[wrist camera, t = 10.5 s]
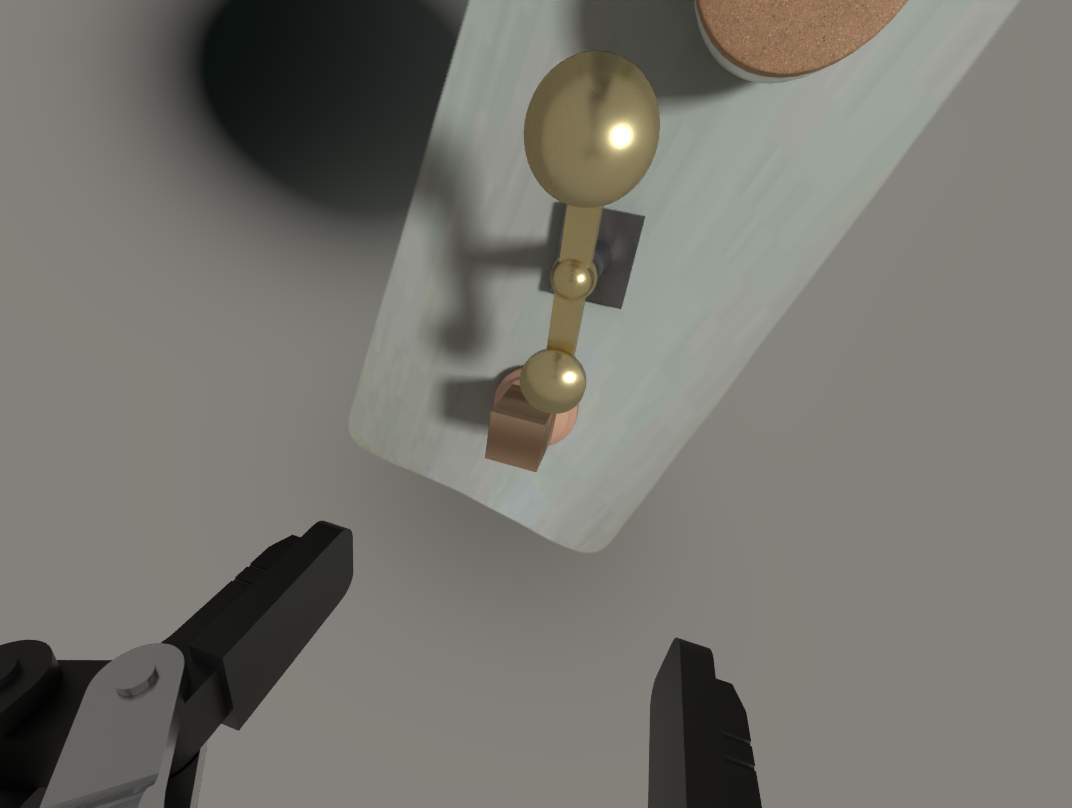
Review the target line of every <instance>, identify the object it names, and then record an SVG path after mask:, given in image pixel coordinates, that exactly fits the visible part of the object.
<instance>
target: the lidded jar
mask: <svg viewBox="0 0 1072 808" xmlns="http://www.w3.org/2000/svg"><path fill="white" fill-rule="evenodd" d="M907 1H908V0H694V7H695V12H696V17H697V22H698V27H699V29H700V32H701V35H702V38H703V41H704V42H705V44H706V46H707V48H708V50H709V51H710V53H711V54H712V56H713V57H714V58H715V59H716V60H717V62H718V63H719V64H720V65H721V66H723V67H724V68H725V69H726V70H728V71H729V72H730V73H732V74H734V75H736V76H738V77H740V78H742V79H745V80H748V81H752V82H756V83H767V84H772V83H783V82H788V81H792V80H796V79H800V78H804V77H806V76H808V75H811V74H813V73H816V72H818V71H820V70H822V69H824V68H826V67H828V66H830V65H832V64H835V63H836V62H838V61H840V60H841V59H843V58H845V57H847V56H848V55H850V54H852V53H853V52H855V51H856V50H857V49H859V48H860V47H861V46H863V45H864V44H865V43H867V42H868V41H869V40H870V39H872V38H873V37H874V36H875V35H876V34H878V33H879V32H880V31H881V30H882V29H883V28H884V27H885V26H886V25H887V24H888V23H889V22H890V21H891V20H892V19H893V18H894V17H895V15H896V14H897V13H898V12H899V11H900V9H901V8H902V7H903V6H904V5H905V3H906V2H907Z"/></svg>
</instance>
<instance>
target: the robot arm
mask: <svg viewBox="0 0 1072 808" xmlns="http://www.w3.org/2000/svg"><path fill="white" fill-rule="evenodd" d="M352 577H353V536H352V531H351V530H350V529H347V528H344V527H341V526H338V525H335V524H332V523H329V522H326V521H319V522H317V523H316V524H314V525H313V526H312V527H311V528H310V529H309V530H308V531H307V532H306V533H305V534H304V535H303V536H302V537H297V536H294V535H291V536H289V537H287V538H286V539H284V540H281V541H279V542H277V543H275V544H273V545H272V546H270V547H268V548H267V549H266V550H265V551H264V552H263V553H262V554H261V555H259V556H258V557H257V558H256V559H255V560H254V561H253V562H252V563H251V565H250V566H249V567H246V568H245V569H244V570H243V571H242V572H241V573H240V574H238V575H237V576H236V578H235V580H234V581H231V582H230V583H229V584H227V585H226V586H225V587H224V588H223V589H222V590H221V591H220V592H219V593H217V595H215V596H214V597H213V598H212V599H211V600H210V601H209V602H207V603H206V604H205V606H203V607H202V608H201V609H200V610H199V611H198V612H196V613H195V614H194V615H193V616H192V617H191V618H190V619H189V620H188V621H186V622H185V623H184V624H183V625H182V626H181V627H180V628H179V629H178V630H177V631H175V633H173V634H172V635H171V636H170V637H168V638H167V639H166V640H164V641H163V642H161V643H155V644H148V645H144V646H140V647H137V648H134V649H132V650H130V651H128V652H125V653H123V654H122V655H120V656H118V657H117V658H115V659H114V660H105V661H104V660H102V661H101V660H56V658H55V656H54V654H53V652H52V650H51V648H50V646H49V645H47V644H46V643H44V642H42V641H37V640H21V641H16V642H11V643H7V644H4V645H0V808H197V804H198V798H199V792H200V786H201V780H202V774H203V767H204V762H205V755H206V750H207V740H208V739H209V737H210V736H211V735H212V734H213V733H214V731H215V730H216V729H217V727H218V726H219V725H220V724H224V725H227V726H229V727H231V728H234V729H236V730H238V731H239V730H240V728H241V727H242V726H243V724H244V723H245V722H246V721H247V720H248V718H249V717H250V716H251V714H252V713H253V712H254V711H255V709H256V708H257V707H258V705H259V704H260V703H261V702H262V700H263V699H264V698H265V696H266V695H267V694H268V693H269V691H270V690H271V689H272V688H273V686H274V685H275V684H276V683H277V681H278V680H279V679H280V677H281V676H282V675H283V674H284V672H285V671H286V670H287V669H288V667H289V666H290V665H291V663H292V662H293V661H294V659H295V658H296V657H297V656H298V654H299V653H300V652H301V651H302V649H303V648H304V647H305V646H306V644H307V643H308V642H309V640H310V639H311V638H312V637H313V635H314V634H315V633H316V632H317V630H318V629H319V628H320V626H321V625H322V624H323V623H324V621H325V620H326V619H327V617H328V616H329V615H330V614H331V612H332V611H333V610H334V609H335V607H336V606H337V605H338V603H339V602H340V601H341V600H342V598H343V597H344V595H345V594H346V592H347V590H348V588H349V586H350V583H351V580H352ZM750 742H751V738H750V733H749V726H748V720H747V714H746V711H745V709H744V707H743V705H742V703H741V701H740V699H739V697H738V695H737V693H736V691H735V689H734V687H733V685H732V684H730V683H728V682H725V681H722V680H719V679H716V677H715V668H714V659H713V654H712V651H711V650H710V649H709V648H706V647H704V646H701V645H698V644H695V643H691V642H688V641H685V640H682V639H679V638H675V639H674V640H673V642H672V644H671V646H670V649H669V651H668V653H667V655H666V657H665V659H664V661H663V663H662V666H661V668H660V670H659V672H658V674H657V677H656V679H655V682H654V686H653V690H652V695H651V704H650V745H649V793H648V794H649V795H648V808H762V806H761V799H760V793H759V788H758V781H757V775H756V771H754V766H755V763H754V757H753V751H752V747H751V746H750Z"/></svg>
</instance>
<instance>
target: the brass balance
mask: <svg viewBox="0 0 1072 808" xmlns="http://www.w3.org/2000/svg"><path fill="white" fill-rule="evenodd" d="M659 131H660V119H659V109H658V104H657V100H656V97H655V94H654V91H653V89H652V87H651V85H650V83H649V81H648V80H647V78H646V77H645V75H644V74H643V73H642V72H641V70H640V69H639V68H638V67H637V66H635V65H634V64H633V63H632V62H631V61H629V60H627V59H626V58H624V57H622V56H620V55H617V54H615V53H611V52H607V51H586V52H583V53H579V54H576V55H573V56H571V57H569V58H567V59H565V60H564V61H562V62H560V63H559V64H558V65H557V66H555V67H554V68H553V69H552V70H551V71H550V72H549V73H548V74H547V75H546V76H545V77H544V79H543V80H542V81H541V83H540V84H539V85H538V87H537V89H536V91H535V92H534V94H533V97H532V99H531V101H530V104H529V107H528V110H527V114H526V119H525V126H524V145H525V152H526V156H527V160H528V163H529V165H530V168H531V171H532V172H533V174H534V176H535V178H536V179H537V181H538V182H539V184H540V185H541V186H542V187H543V188H544V190H545V191H546V192H547V193H549V194H550V195H551V196H552V197H554V198H555V199H557V200H559V201H560V202H563V203H565V204H566V206H565V211H564V216H563V222H562V227H561V233H560V238H559V244H558V249H557V255H556V260H555V263H554V264H553V266H552V269H551V272H550V283H551V288H550V293H553V294H554V301H553V308H552V315H551V322H550V329H549V336H548V343H547V349H544V350H541V351H538V352H537V353H535V354H533V355H532V356H531V357H530V358H529V359H528V361H527V362H526V363H525V364H524V366H523V368H522V370H521V373H520V388H521V391H522V393H523V395H524V397H525V399H526V400H527V401H528V402H529V403H530V404H531V405H532V406H533V407H535V408H536V409H538V410H540V411H542V412H545V413H550V414H560V413H564V412H567V411H569V410H571V409H573V408H574V407H575V406H576V405H577V404H578V403H579V402H580V400H581V399H582V397H583V394H584V392H585V388H586V374H585V371H584V369H583V367H582V365H581V363H580V362H579V361H578V360H577V359H576V358H575V351H576V346H577V341H578V336H579V331H580V326H581V320H582V315H583V310H584V305H585V301H588V302H592V303H597V304H601V305H606V306H610V307H614V308H619V309H621V308H622V304H623V301H624V297H625V293H626V289H627V285H628V281H629V277H630V273H631V270H632V266H633V262H634V258H635V254H636V250H637V246H638V242H639V239H640V235H641V231H642V227H643V223H644V219H645V216H641V215H636V214H631V213H626V212H621V211H616V210H611V209H606V208H603V206H604V205H607V204H610V203H612V202H615V201H617V200H619V199H620V198H622V197H623V196H625V195H626V194H628V193H629V192H630V191H631V190H633V188H634V187H635V186H636V185H637V184H638V183H639V182H640V181H641V179H642V178H643V177H644V175H645V174H646V172H647V171H648V169H649V167H650V165H651V163H652V161H653V158H654V156H655V152H656V149H657V145H658V140H659Z"/></svg>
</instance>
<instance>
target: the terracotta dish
mask: <svg viewBox="0 0 1072 808" xmlns="http://www.w3.org/2000/svg"><path fill="white" fill-rule="evenodd" d="M522 368H523V367H520V368H518V369H515V370H514V371H512V372H511V373H509V374H508V375H507V376H506V377H505V378H504V379H503V380H502V382H501V383H500V384H499V386H498V388H497V390H496V392H495V396H494V407H495V405H496V404H497V403H498V402H499V400H500V399H501V398H502V397H503V395H504V394H505V393H506V391H507V390H508V389H509V388H510V386H511V385H512V384H515V385H519V386H520V373H521V370H522ZM577 414H578V404H577V405H576V406H575V407H574V408H573V409H571V410H569V411H567V412H564V413H560V414H556V418H555V423H554V428H553V433H552V438H551V440H550V443H549V445H553V444H555V443H558V442H559V441H561V440H563V439H564V438H565V437H566V436H567V435H568V434H569V433H570V431H571V430H572V428H573V426H574V424H575V421H576V418H577ZM549 445H548V446H549Z"/></svg>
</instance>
